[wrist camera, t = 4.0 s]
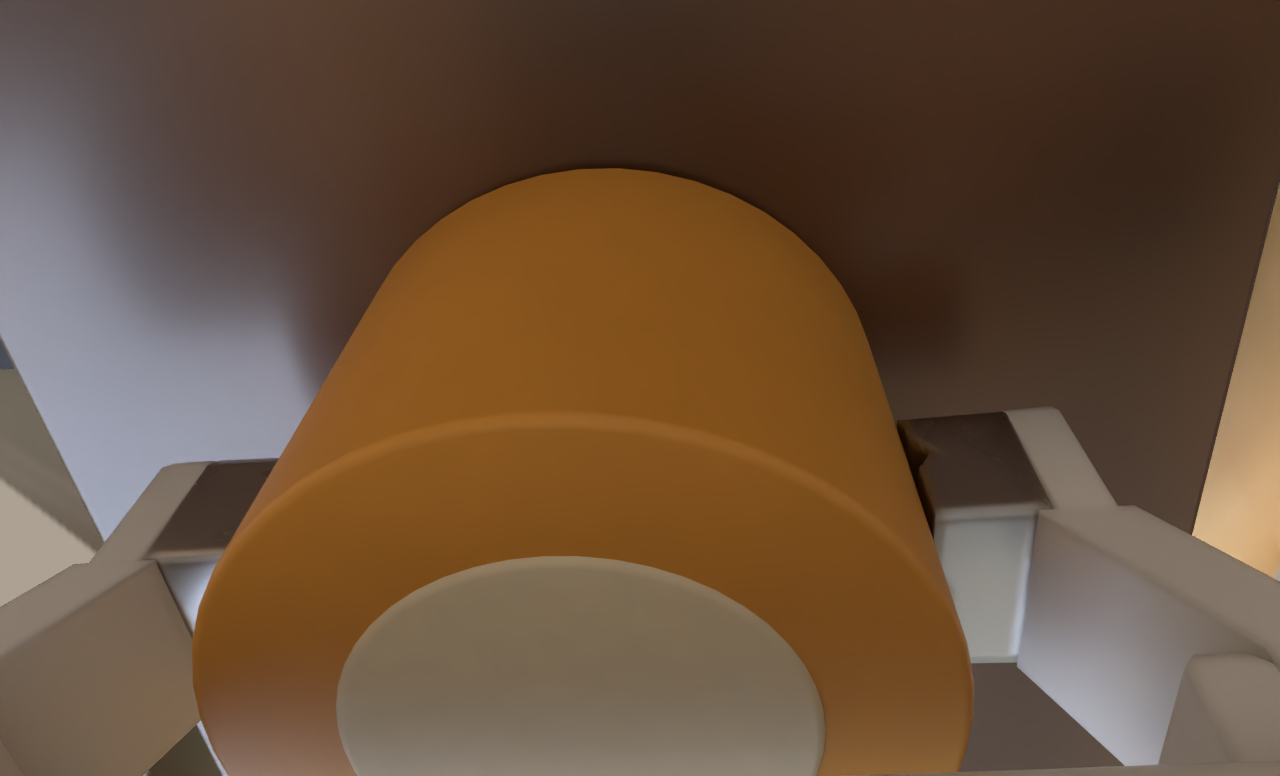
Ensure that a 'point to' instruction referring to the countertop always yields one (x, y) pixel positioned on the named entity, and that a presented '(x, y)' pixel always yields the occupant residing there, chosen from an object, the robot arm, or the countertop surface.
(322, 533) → the tape roll
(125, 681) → the robot arm
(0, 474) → the countertop surface
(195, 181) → the shelf
